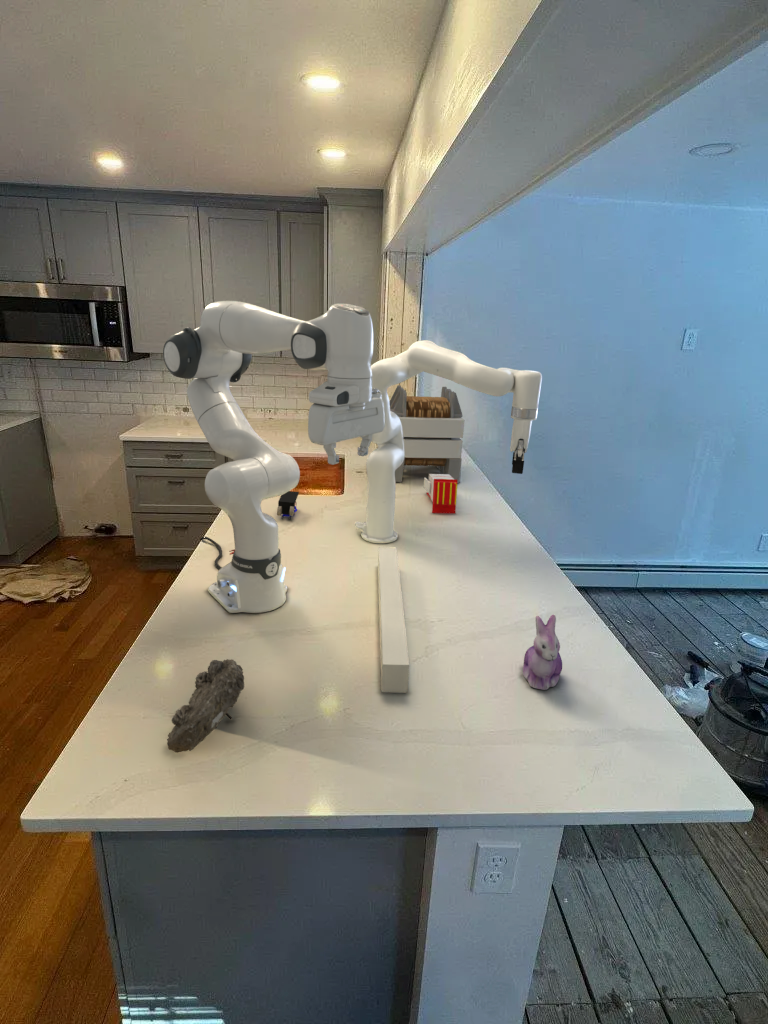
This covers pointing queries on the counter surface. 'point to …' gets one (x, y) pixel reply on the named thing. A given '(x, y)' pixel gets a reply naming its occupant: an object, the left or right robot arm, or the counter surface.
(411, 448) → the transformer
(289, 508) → the figurine character
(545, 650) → the figurine
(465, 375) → the right robot arm
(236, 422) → the left robot arm
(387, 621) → the beam
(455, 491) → the toy
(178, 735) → the fossil
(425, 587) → the counter surface
